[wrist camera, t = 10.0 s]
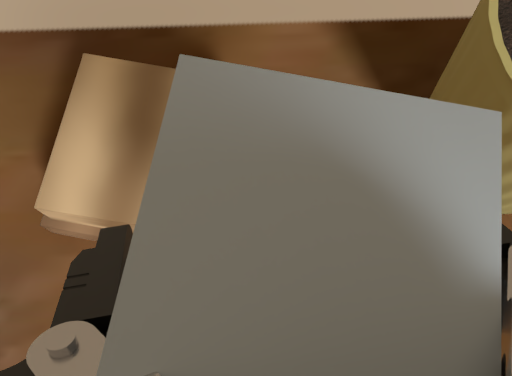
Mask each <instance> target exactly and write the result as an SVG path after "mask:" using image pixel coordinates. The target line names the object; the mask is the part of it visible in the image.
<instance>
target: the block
mask: <svg viewBox="0 0 512 376" xmlns="http://www.w3.org/2000/svg"><path fill="white" fill-rule="evenodd" d="M501 230H502V112H499V111H494V110H488V109H483V108H477V107H472V106H466V105H461V104H455V103H450V102H444V101H438V100H433V99H427V98H422V97H416V96H411V95H405V94H400V93H394V92H389V91H383V90H377V89H372V88H366V87H361V86H355V85H350V84H344V83H339V82H333V81H328V80H322V79H316V78H311V77H305V76H300V75H294V74H289V73H283V72H278V71H272V70H267V69H261V68H256V67H250V66H244V65H239V64H233V63H228V62H222V61H217V60H211V59H206V58H200V57H195V56H189V55H183V54H180V55H179V59H178V63H177V67H176V71H175V74H174V78H173V82H172V86H171V90H170V94H169V97H168V101H167V105H166V109H165V113H164V117H163V121H162V124H161V128H160V132H159V136H158V140H157V144H156V147H155V151H154V155H153V159H152V163H151V167H150V171H149V174H148V178H147V182H146V186H145V190H144V194H143V197H142V201H141V205H140V209H139V213H138V217H137V221H136V224H135V228H134V232H133V236H132V240H131V244H130V247H129V251H128V255H127V259H126V263H125V267H124V271H123V274H122V278H121V282H120V286H119V290H118V294H117V297H116V301H115V305H114V309H113V313H112V317H111V321H110V324H109V328H108V332H107V336H106V340H105V344H104V347H103V351H102V355H101V359H100V363H99V367H98V371H97V374H96V376H145V375H147V374H150V373H153V372H158V373H159V374H160V375H161V376H501Z"/></svg>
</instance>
